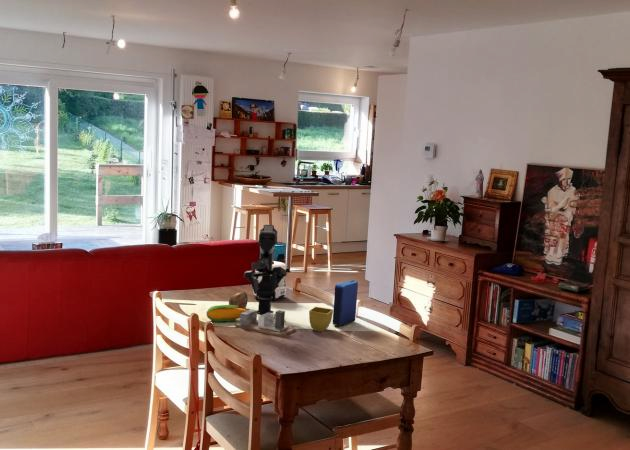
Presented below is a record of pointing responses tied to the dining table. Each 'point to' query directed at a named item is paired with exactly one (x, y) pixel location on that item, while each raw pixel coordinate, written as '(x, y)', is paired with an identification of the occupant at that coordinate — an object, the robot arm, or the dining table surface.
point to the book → (345, 303)
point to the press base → (251, 323)
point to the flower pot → (320, 318)
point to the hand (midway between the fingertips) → (264, 292)
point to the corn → (224, 313)
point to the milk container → (282, 285)
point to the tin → (239, 300)
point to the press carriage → (267, 321)
